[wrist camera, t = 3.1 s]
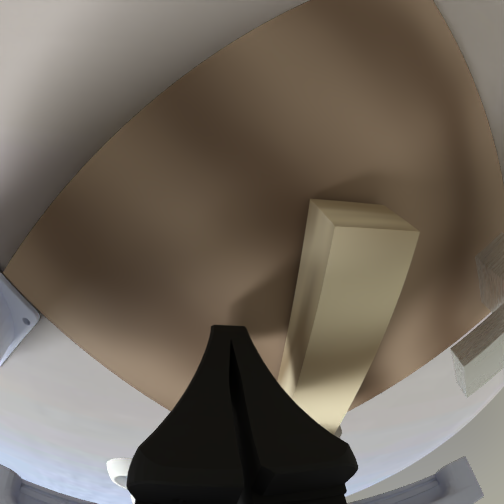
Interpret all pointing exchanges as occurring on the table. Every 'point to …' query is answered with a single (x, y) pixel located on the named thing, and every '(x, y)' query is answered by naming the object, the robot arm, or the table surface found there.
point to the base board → (274, 196)
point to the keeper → (484, 325)
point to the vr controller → (119, 472)
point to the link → (342, 303)
